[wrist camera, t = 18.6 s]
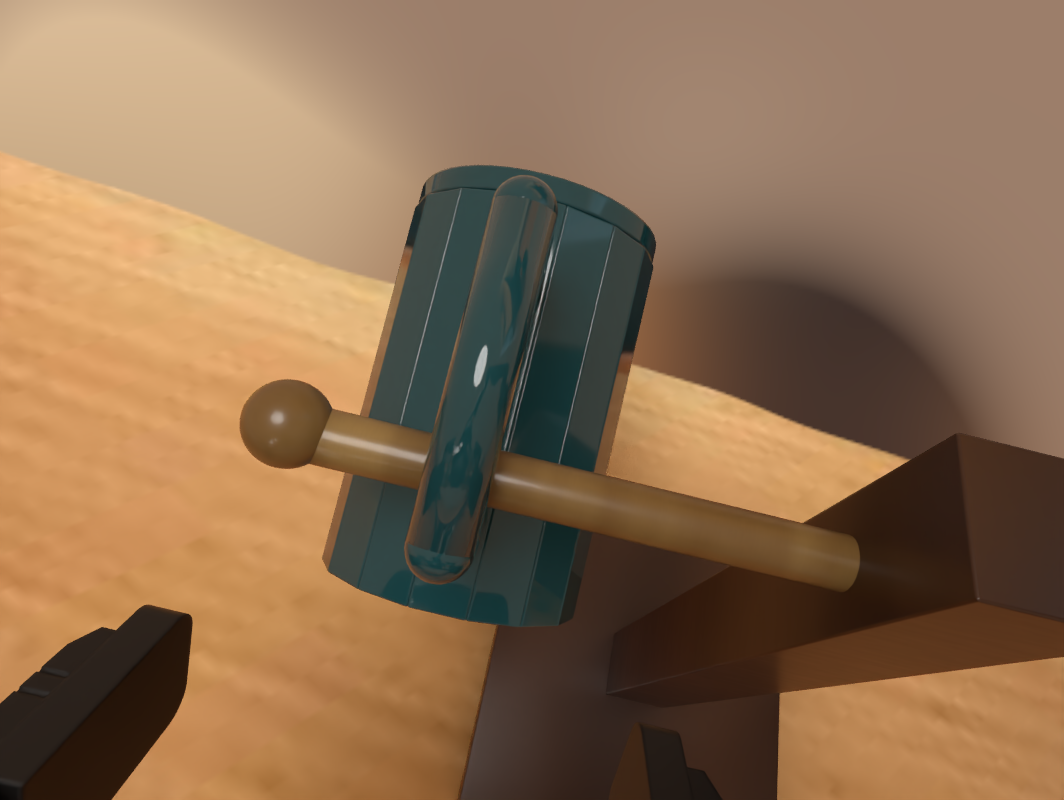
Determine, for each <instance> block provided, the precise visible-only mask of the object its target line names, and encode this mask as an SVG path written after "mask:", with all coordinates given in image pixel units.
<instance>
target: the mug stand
mask: <svg viewBox="0 0 1064 800" xmlns="http://www.w3.org/2000/svg"><path fill="white" fill-rule="evenodd" d="M240 433H241V437H242V440H243V442H244V444H245V446H246V448H247V449H248V451H249V452H250V453H251V454H252V455H253V456H254V457H255V458H256V459H258V460H259V461H261V462H262V463H264V464H266V465H269V466H272V467H275V468H281V469H293V468H298V467H302V466H305V465H307V464H312V465H316V466H320V467H324V468H328V469H332V470H336V471H341V472H345V473H349V474H353V475H357V476H361V477H365V478H369V479H374V480H378V481H382V482H386V483H390V484H394V485H398V486H403V487H407V488H411V489H415V490H418V487H419V483H420V479H421V475H422V471H423V467H424V463H425V459H426V455H427V451H428V447H429V443H430V440H431V436H432V433H430V432H426V431H422V430H417V429H413V428H409V427H405V426H401V425H397V424H393V423H389V422H385V421H380V420H376V419H372V418H368V417H364V416H360V415H356V414H352V413H348V412H343V411H339V410H335V409H332V407H331V405H330V403H329V401H328V400H327V398H326V397H325V396H324V395H323V394H322V393H321V392H320V391H319V390H318V389H317V388H315V387H313V386H312V385H310V384H308V383H305V382H302V381H298V380H291V379H284V380H277V381H273V382H270V383H268V384H266V385H264V386H262V387H260V388H259V389H257V390H256V391H255V392H254V393H253V394H252V395H251V396H250V397H249V399H248V400H247V401H246V403H245V405H244V407H243V409H242V412H241V416H240ZM487 507H489V508H494V509H498V510H502V511H506V512H510V513H514V514H518V515H522V516H527V517H531V518H535V519H539V520H543V521H547V522H551V523H556V524H560V525H564V526H568V527H572V528H576V529H580V530H584V531H589V532H593V533H592V538H591V542H590V546H589V551H588V555H587V560H586V564H585V568H584V573H583V577H582V581H581V586H580V590H579V595H578V599H577V603H576V608H575V612H574V616H573V618H572V619H571V620H569V621H567V622H565V623H563V624H561V625H559V626H555V627H525V628H520V627H510V626H502V625H496V630H495V634H494V638H493V643H492V647H491V652H490V656H489V661H488V665H487V670H486V674H485V679H484V683H483V688H482V692H481V697H480V701H479V706H478V710H477V715H476V719H475V724H474V728H473V733H472V737H471V742H470V746H469V751H468V755H467V760H466V764H465V768H464V773H463V777H462V782H461V786H460V791H459V795H458V800H608V799H609V794H610V790H611V786H612V783H613V780H614V777H615V775H616V772H617V769H618V766H619V763H620V760H621V758H622V755H623V752H624V749H625V746H626V744H627V741H628V738H629V735H630V732H631V730H632V727H633V725H634V724H635V723H636V722H639V723H644V724H648V725H652V726H656V727H661V728H665V729H669V730H673V731H677V732H678V733H679V734H680V737H681V740H682V745H683V750H684V755H685V759H686V764H687V767H690V768H694V769H698V770H702V771H705V773H706V774H707V776H708V777H709V779H710V780H711V782H712V784H713V785H714V787H715V788H716V790H717V791H718V793H719V795H720V796H721V798H722V799H723V800H777V776H778V734H779V693H783V692H791V691H799V690H807V689H815V688H822V687H830V686H838V685H846V684H854V683H862V682H869V681H877V680H885V679H893V678H901V677H908V676H916V675H924V674H932V673H940V672H948V671H955V670H963V669H971V668H979V667H987V666H995V665H1002V664H1010V663H1018V662H1026V661H1034V660H1042V659H1049V658H1057V657H1064V459H1063V458H1059V457H1055V456H1051V455H1047V454H1043V453H1039V452H1035V451H1031V450H1027V449H1023V448H1019V447H1014V446H1010V445H1007V444H1002V443H998V442H994V441H990V440H986V439H982V438H978V437H974V436H970V435H966V434H962V433H957V434H954V435H953V436H951V437H949V438H948V439H946V440H944V441H943V442H941V443H939V444H937V445H936V446H934V447H932V448H930V449H929V450H927V451H925V452H924V453H922V454H920V455H919V456H917V457H915V458H913V459H912V460H910V461H908V462H907V463H905V464H903V465H901V466H900V467H898V468H896V469H895V470H893V471H891V472H889V473H888V474H886V475H884V476H883V477H881V478H879V479H877V480H876V481H874V482H872V483H871V484H869V485H867V486H866V487H864V488H862V489H860V490H859V491H857V492H855V493H854V494H852V495H850V496H848V497H847V498H845V499H843V500H842V501H840V502H838V503H836V504H835V505H833V506H831V507H830V508H828V509H826V510H824V511H823V512H821V513H819V514H818V515H816V516H814V517H812V518H811V519H809V520H807V521H806V522H804V523H799V522H795V521H791V520H787V519H783V518H779V517H775V516H771V515H767V514H762V513H758V512H754V511H750V510H746V509H742V508H738V507H734V506H730V505H725V504H721V503H717V502H713V501H709V500H705V499H701V498H697V497H693V496H688V495H684V494H680V493H676V492H672V491H668V490H664V489H660V488H656V487H652V486H647V485H643V484H639V483H635V482H631V481H627V480H623V479H619V478H615V477H610V476H606V475H602V474H598V473H594V472H590V471H586V470H582V469H578V468H573V467H569V466H565V465H561V464H557V463H553V462H549V461H545V460H541V459H537V458H532V457H528V456H524V455H520V454H516V453H512V452H508V451H504V450H501V451H500V455H499V460H498V464H497V468H496V472H495V476H494V480H493V484H492V488H491V492H490V496H489V500H488V504H487Z"/></svg>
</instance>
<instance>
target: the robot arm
mask: <svg viewBox="0 0 1064 800" xmlns="http://www.w3.org/2000/svg"><path fill="white" fill-rule="evenodd" d="M191 635H192V617H191V615H189V614H186V613H182V612H178V611H173V610H169V609H165V608H161V607H156V606H152V605H144V606H142V607H141V608H139V609H138V610H137V611H136V612H135V613H134V614H133V615H132V616H131V617H130V618H129V619H128V620H126V621H125V622H124V623H123V624H122V625H121V626H120V627H119V628H118V629H117V630H112V629H108V628H104V627H101V628H99V629H97V630H95V631H93V632H91V633H89V634H87V635H85V636H83V637H81V638H79V639H77V640H75V641H73V642H71V643H69V644H67V645H66V646H65V647H64V648H63V649H62V650H60V651H59V652H58V653H57V654H56V655H55V656H54V657H52V658H51V659H50V660H49V661H48V662H47V663H46V664H45V665H43V666H42V668H41V670H40V672H35V673H34V674H33V675H32V676H31V677H30V678H29V679H28V680H26V681H25V682H24V683H23V684H22V685H21V686H20V688H19V690H18V691H17V692H16V691H14V692H13V693H12V694H10V695H9V696H8V697H7V698H6V699H5V700H4V701H3V702H1V703H0V800H112V798H113V797H114V796H115V794H116V793H117V792H118V790H119V789H120V788H121V786H122V785H123V784H124V783H125V781H126V780H127V779H128V777H129V776H130V775H131V773H132V772H133V771H134V769H135V768H136V767H137V766H138V764H139V763H140V762H141V760H142V759H143V758H144V756H145V755H146V754H147V753H148V751H149V750H150V749H151V747H152V746H153V745H154V743H155V742H156V741H157V739H158V738H159V737H160V736H161V734H162V733H163V732H164V730H165V729H166V728H167V726H168V725H169V724H170V722H171V721H172V719H173V718H174V716H175V714H176V712H177V710H178V708H179V706H180V704H181V702H182V699H183V696H184V693H185V689H186V684H187V675H188V665H189V655H190V645H191ZM608 800H723V799H722V798H721V796H720V795H719V793H718V791H717V790H716V788H715V787H714V785H713V784H712V782H711V780H710V779H709V777H708V776H707V774H706V773H705V771H702V770H698V769H694V768H690V767H687V764H686V759H685V755H684V750H683V745H682V740H681V737H680V734H679V733H678V732H677V731H673V730H669V729H665V728H661V727H656V726H652V725H648V724H644V723H639V722H636V723H635V724H634V725H633V727H632V730H631V732H630V735H629V738H628V741H627V744H626V746H625V749H624V752H623V755H622V758H621V760H620V763H619V766H618V769H617V772H616V775H615V777H614V780H613V783H612V786H611V790H610V794H609V799H608Z"/></svg>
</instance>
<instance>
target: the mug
mask: <svg viewBox="0 0 1064 800" xmlns="http://www.w3.org/2000/svg"><path fill="white" fill-rule="evenodd" d="M655 249H656V241H655V237H654V234H653V233H652V231H651V229H650V228H649V226H648V225H647V224H646V223H645V222H644V221H643V220H642V219H641V218H640V217H639V216H638V215H636V214H635V213H634V212H632V211H631V210H630V209H628V208H627V207H625V206H624V205H622V204H620V203H619V202H617V201H615V200H613V199H612V198H610V197H607V196H605V195H603V194H601V193H599V192H597V191H595V190H592V189H590V188H587V187H585V186H583V185H580V184H577V183H574V182H571V181H568V180H565V179H562V178H558V177H555V176H551V175H548V174H543V173H539V172H534V171H530V170H524V169H518V168H512V167H503V166H492V165H470V166H459V167H453V168H449V169H445V170H442V171H439V172H437V173H435V174H434V175H432V176H431V177H430V178H429V179H428V180H427V181H426V182H425V184H424V186H423V189H422V193H421V197H420V200H419V204H418V205H417V206H416V208H415V211H414V215H413V219H412V222H411V226H410V230H409V233H408V237H407V241H406V244H405V248H404V252H403V256H402V259H401V263H400V267H399V271H398V275H397V278H396V282H395V286H394V290H393V293H392V297H391V301H390V305H389V308H388V312H387V316H386V320H385V323H384V327H383V331H382V335H381V338H380V342H379V346H378V350H377V353H376V357H375V361H374V365H373V369H372V372H371V376H370V380H369V384H368V387H367V391H366V395H365V399H364V402H363V406H362V410H361V414H360V416H364V417H368V418H372V419H376V420H380V421H385V422H389V423H393V424H397V425H401V426H405V427H409V428H413V429H417V430H422V431H426V432H430V433H432V436H431V440H430V443H429V447H428V451H427V455H426V459H425V463H424V467H423V471H422V475H421V479H420V483H419V487H418V490H415V489H411V488H407V487H403V486H398V485H394V484H390V483H386V482H382V481H378V480H374V479H369V478H365V477H361V476H357V475H353V474H349V473H345V474H344V478H343V481H342V485H341V489H340V493H339V496H338V500H337V504H336V508H335V511H334V515H333V519H332V523H331V526H330V530H329V534H328V538H327V542H326V545H325V549H324V553H323V557H322V560H323V562H324V564H325V566H326V568H327V570H328V572H330V573H331V574H333V575H334V576H336V577H338V578H340V579H341V580H343V581H345V582H347V583H348V584H350V585H352V586H353V587H355V588H357V589H359V590H361V591H364V592H367V593H370V594H372V595H375V596H378V597H381V598H384V599H386V600H389V601H392V602H395V603H398V604H400V605H403V606H408V607H410V608H414V609H418V610H422V611H426V612H430V613H435V614H439V615H443V616H447V617H451V618H456V619H460V620H467V621H471V622H478V623H486V624H494V625H502V626H510V627H520V628H525V627H555V626H559V625H561V624H563V623H565V622H567V621H569V620H571V619H572V618H573V616H574V612H575V608H576V603H577V599H578V595H579V590H580V586H581V581H582V577H583V573H584V568H585V564H586V560H587V555H588V551H589V546H590V542H591V538H592V533H593V532H589V531H584V530H580V529H576V528H572V527H568V526H564V525H560V524H556V523H551V522H547V521H543V520H539V519H535V518H531V517H527V516H522V515H518V514H514V513H510V512H506V511H502V510H498V509H494V508H489V507H487V504H488V500H489V496H490V492H491V488H492V484H493V480H494V476H495V472H496V468H497V464H498V460H499V455H500V451H501V450H504V451H508V452H512V453H516V454H520V455H524V456H528V457H532V458H537V459H541V460H545V461H549V462H553V463H557V464H561V465H565V466H569V467H573V468H578V469H582V470H586V471H590V472H594V473H598V474H602V475H606V472H607V468H608V463H609V459H610V455H611V450H612V446H613V442H614V437H615V433H616V428H617V424H618V420H619V415H620V411H621V407H622V402H623V398H624V393H625V389H626V385H627V380H628V376H629V372H630V367H631V363H632V358H633V354H634V350H635V345H636V341H637V337H638V332H639V328H640V323H641V319H642V315H643V310H644V306H645V301H646V297H647V293H648V288H649V284H650V280H651V275H652V271H653V265H652V262H653V258H654V253H655Z"/></svg>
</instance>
